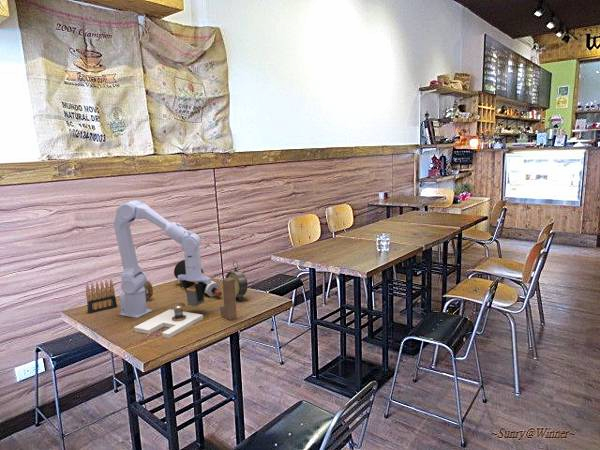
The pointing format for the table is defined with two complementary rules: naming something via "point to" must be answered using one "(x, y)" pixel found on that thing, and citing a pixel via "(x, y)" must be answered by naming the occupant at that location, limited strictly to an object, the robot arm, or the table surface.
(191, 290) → the grey and orange block
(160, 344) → the table surface
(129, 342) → the table surface
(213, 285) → the cable
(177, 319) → the bronze knob
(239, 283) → the alarm clock
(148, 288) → the brown oval slab
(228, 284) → the wooden block
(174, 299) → the table surface
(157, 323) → the notched board
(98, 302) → the ammunition clip
